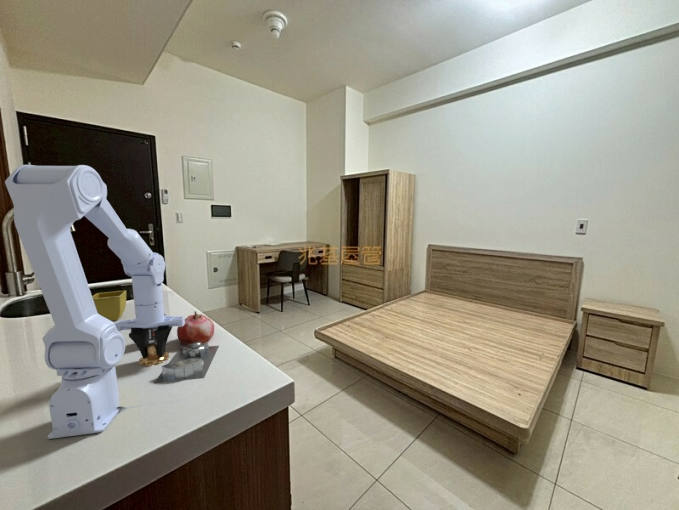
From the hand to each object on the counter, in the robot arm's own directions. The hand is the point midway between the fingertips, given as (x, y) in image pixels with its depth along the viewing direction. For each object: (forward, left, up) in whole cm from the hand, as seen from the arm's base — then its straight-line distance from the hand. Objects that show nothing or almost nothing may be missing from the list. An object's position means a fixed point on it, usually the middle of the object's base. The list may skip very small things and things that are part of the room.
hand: (154, 355), depth 71 cm
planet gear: (0, 0, -2) cm, 2 cm away
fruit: (+10, -7, -2) cm, 12 cm away
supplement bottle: (+11, +4, -2) cm, 12 cm away
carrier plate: (-3, -9, -2) cm, 10 cm away
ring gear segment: (-9, -9, -1) cm, 13 cm away
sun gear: (+2, -9, -1) cm, 9 cm away
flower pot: (+37, +28, -2) cm, 46 cm away
